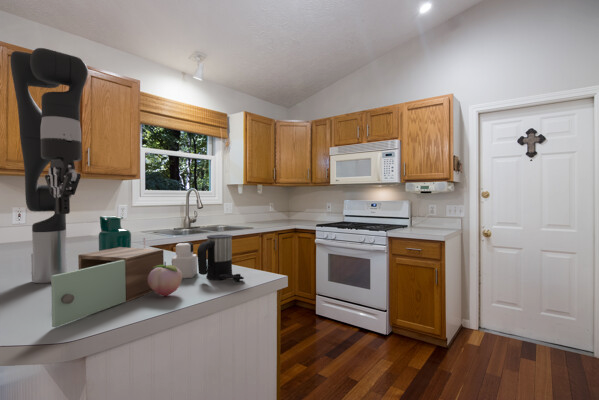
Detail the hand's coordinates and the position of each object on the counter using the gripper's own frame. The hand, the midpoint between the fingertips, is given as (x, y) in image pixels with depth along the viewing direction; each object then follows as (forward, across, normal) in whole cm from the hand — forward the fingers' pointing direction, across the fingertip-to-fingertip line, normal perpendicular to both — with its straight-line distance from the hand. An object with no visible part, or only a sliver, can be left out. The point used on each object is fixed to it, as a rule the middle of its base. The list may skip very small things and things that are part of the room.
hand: (63, 213), depth 72 cm
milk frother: (+25, +6, +45) cm, 52 cm away
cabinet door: (+24, +2, +5) cm, 25 cm away
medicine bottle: (+25, -10, +41) cm, 49 cm away
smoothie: (+25, -22, +33) cm, 47 cm away
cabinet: (+25, -10, +19) cm, 33 cm away
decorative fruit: (+25, +5, +23) cm, 35 cm away
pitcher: (+25, -30, +27) cm, 47 cm away
